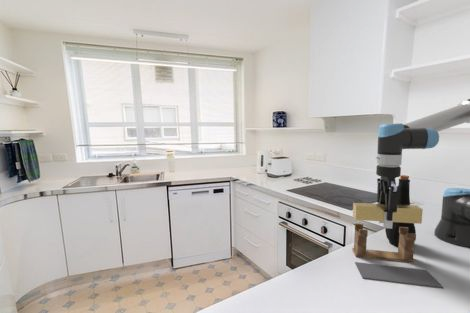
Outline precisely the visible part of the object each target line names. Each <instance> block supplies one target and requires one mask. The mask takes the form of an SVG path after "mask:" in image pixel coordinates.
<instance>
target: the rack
mask: <svg viewBox="0 0 470 313" xmlns="http://www.w3.org/2000/svg"><path fill="white" fill-rule="evenodd" d="M408 229H409V228H408V227H399V233H400V235H399V246H398V247H397V248H398V249H397V251H389V250H375V249H367V241H368V240H367V239H368V233H369V232H368V229H364V224H363V223H356V222H355V223H354V241H353V247H352V248H351V250H352V253H353V254H354V256H355V257H356V258H362V259H363V258H364V259H374V260H382V261H392V262H401V263H410V264H412V263H413V264H415V262H416V261H415V259H414V253H415V242H416V241H417V234H415V233H408Z"/></svg>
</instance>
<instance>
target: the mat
mask: <svg viewBox="0 0 470 313" xmlns="http://www.w3.org/2000/svg"><path fill="white" fill-rule="evenodd" d="M354 264H355V266H356V268H357V269H358V272H359V274H360V275H361V279H364V280H373V281H374V280H375V281H380V282H388V283H390V282H391V283H396V284H405V285H414V286H421V287H428V288H429V287H431V288H438V289H444V286H443V285H442V284H441V283H440V282H439V281H438V280H437V279H436V278H435V277H434V276H433V275H432V274H431V273H430V272H429V271H428V270H427V269H422V268H412V267H403V266H402V267H401V266H395V265H385V264H377V263H376V264H375V263H370V262H369V263H367V262H359V261H358V262H357V261H354Z"/></svg>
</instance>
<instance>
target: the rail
mask: <svg viewBox="0 0 470 313" xmlns="http://www.w3.org/2000/svg"><path fill="white" fill-rule="evenodd" d="M383 210H386V207H385V204H379V203H371V202H370V203H366V202H365V203H364V202H353V203H352V217H353V219H354V220H356V221H365V222H366V221H367V222H379V221H383V222H384V211H383ZM422 221H423V208H421V207H420V206H419V205H417V204H416V205H415V204H414V205H413V204H410V205H397V212H393V222H401V223H414V224H420V225H421V224H422V223H423V222H422Z"/></svg>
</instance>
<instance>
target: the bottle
mask: <svg viewBox="0 0 470 313" xmlns="http://www.w3.org/2000/svg"><path fill="white" fill-rule="evenodd" d="M410 182H411V180H410V176H409V175H407V174H405V175H404V174H400V176H399V179H398V185H397V186H399V187H400V189H399V192H398V203H397V205H411V200H410V186H411V185H410ZM399 227H408V228H409V229H408V233H415V234H416V233H417V231H416V227H415V223H401V222H393V225H392V229H390V228H384V230H385V236H386V239H387V240H388V242H389V244H390V245H391V246H394V247H396V248H398V246H399V235H400V233H399ZM416 235H417V234H416Z"/></svg>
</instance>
